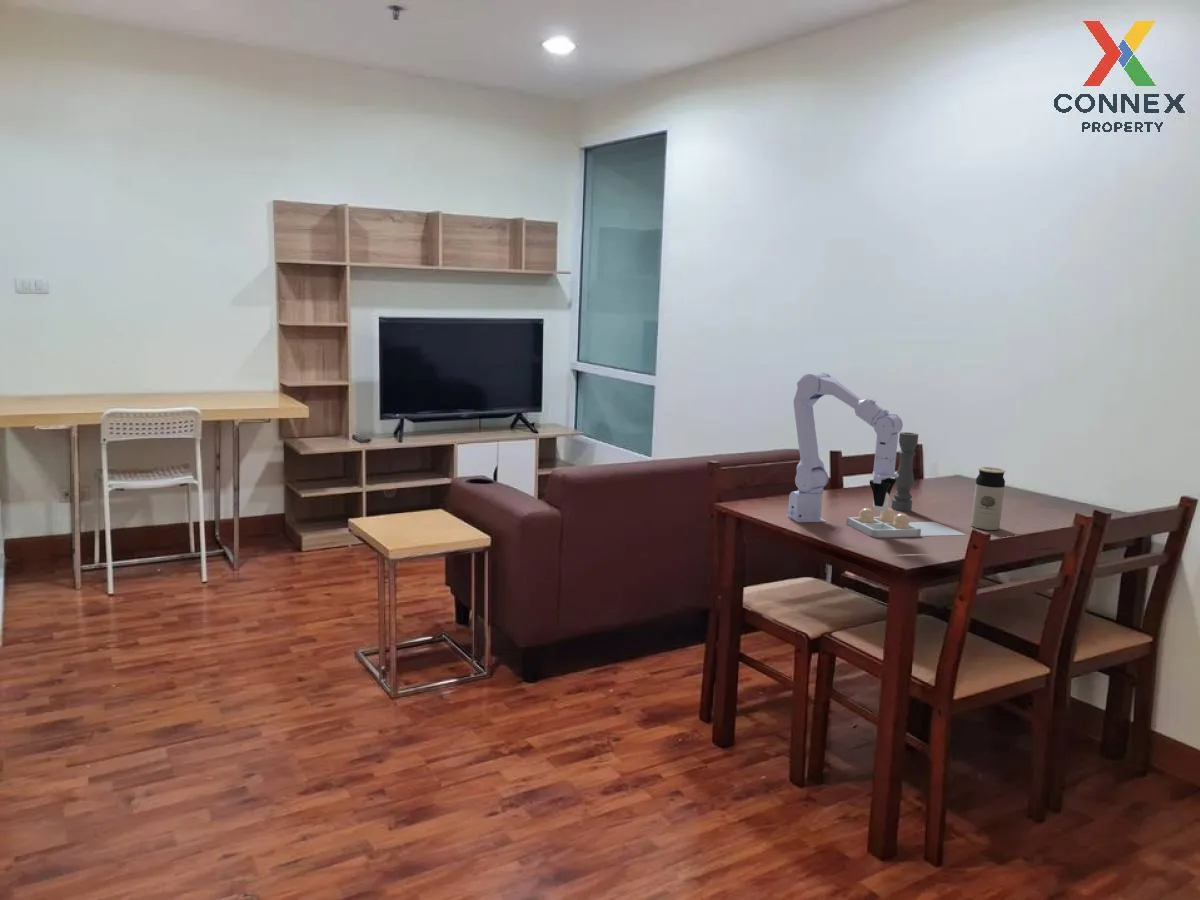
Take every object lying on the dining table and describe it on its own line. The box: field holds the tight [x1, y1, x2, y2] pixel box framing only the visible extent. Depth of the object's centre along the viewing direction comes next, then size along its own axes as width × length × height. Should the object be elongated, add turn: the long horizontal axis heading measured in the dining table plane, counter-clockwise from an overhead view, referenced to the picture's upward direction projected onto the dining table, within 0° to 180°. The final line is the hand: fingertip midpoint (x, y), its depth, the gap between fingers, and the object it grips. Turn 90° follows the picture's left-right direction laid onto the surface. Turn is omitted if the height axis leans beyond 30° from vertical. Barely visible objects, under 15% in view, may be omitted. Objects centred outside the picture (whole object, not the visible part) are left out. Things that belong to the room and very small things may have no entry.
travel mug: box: [970, 466, 1006, 531], centre depth 271 cm, size 8×8×18 cm
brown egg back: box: [893, 512, 910, 529], centre depth 259 cm, size 4×4×6 cm
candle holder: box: [890, 431, 919, 512], centre depth 289 cm, size 6×6×25 cm
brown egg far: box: [879, 507, 896, 523], centre depth 266 cm, size 4×4×6 cm
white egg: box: [872, 492, 890, 512], centre depth 256 cm, size 4×4×6 cm
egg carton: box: [845, 516, 967, 538], centre depth 264 cm, size 30×15×2 cm, turn 104°
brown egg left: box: [858, 507, 875, 523], centre depth 264 cm, size 4×4×6 cm
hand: (880, 504), depth 256 cm, fingers closed on white egg, 4 cm apart
